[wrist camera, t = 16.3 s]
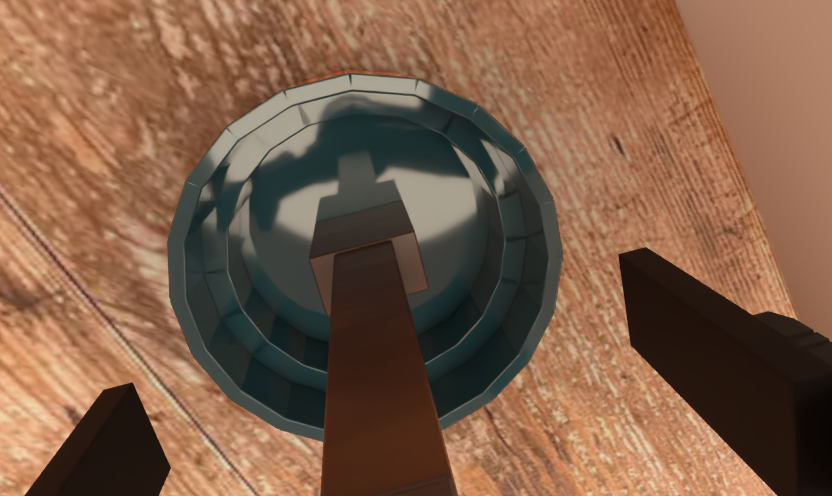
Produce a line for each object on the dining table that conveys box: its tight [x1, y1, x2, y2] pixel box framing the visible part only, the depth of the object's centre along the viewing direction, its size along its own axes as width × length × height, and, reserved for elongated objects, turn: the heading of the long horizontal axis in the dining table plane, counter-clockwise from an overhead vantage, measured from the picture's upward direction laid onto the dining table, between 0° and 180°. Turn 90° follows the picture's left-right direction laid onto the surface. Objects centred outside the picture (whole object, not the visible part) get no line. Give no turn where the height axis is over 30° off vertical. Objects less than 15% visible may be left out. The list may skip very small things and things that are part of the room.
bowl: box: [167, 70, 563, 442], centre depth 25 cm, size 14×14×6 cm
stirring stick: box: [309, 201, 458, 496], centre depth 18 cm, size 4×2×18 cm, turn 104°
